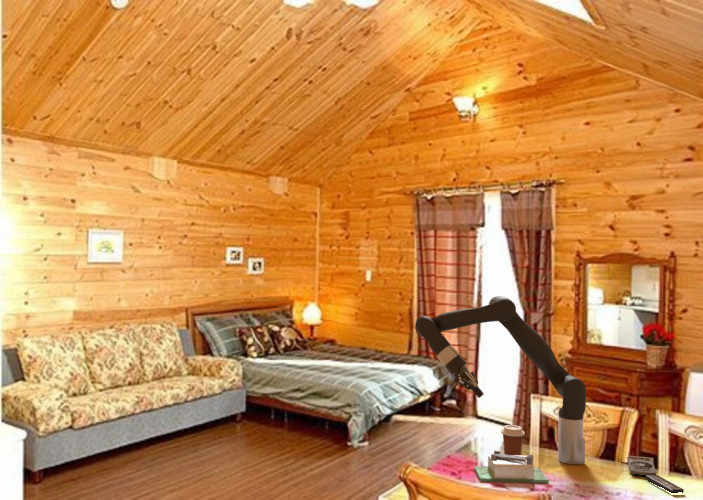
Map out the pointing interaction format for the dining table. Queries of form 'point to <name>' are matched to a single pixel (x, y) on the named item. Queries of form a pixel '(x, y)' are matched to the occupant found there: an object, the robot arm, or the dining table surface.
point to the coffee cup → (512, 439)
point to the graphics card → (641, 466)
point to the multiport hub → (664, 483)
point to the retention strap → (511, 457)
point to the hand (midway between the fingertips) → (481, 396)
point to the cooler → (510, 470)
